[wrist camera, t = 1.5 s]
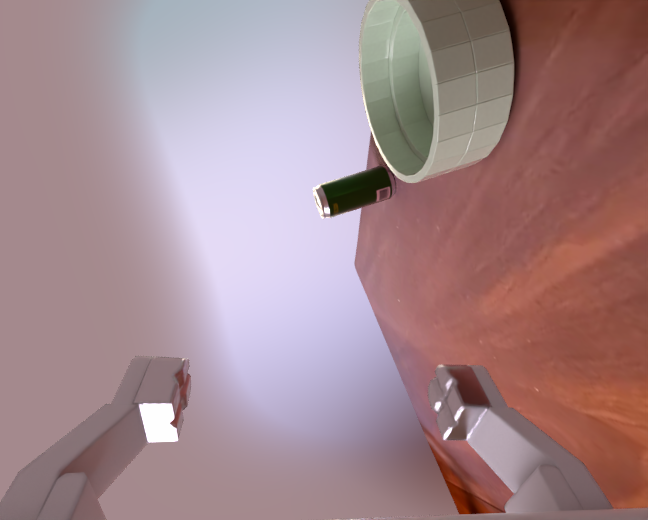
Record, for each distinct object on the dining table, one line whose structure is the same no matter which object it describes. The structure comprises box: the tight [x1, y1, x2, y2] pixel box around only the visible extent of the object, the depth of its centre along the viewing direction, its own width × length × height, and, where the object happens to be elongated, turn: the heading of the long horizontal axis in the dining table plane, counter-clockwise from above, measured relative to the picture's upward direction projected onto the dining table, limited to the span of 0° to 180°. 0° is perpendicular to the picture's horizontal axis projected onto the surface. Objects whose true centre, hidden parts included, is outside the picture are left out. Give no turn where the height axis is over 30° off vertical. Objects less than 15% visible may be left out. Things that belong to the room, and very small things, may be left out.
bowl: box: [359, 0, 514, 183], centre depth 31 cm, size 15×15×6 cm
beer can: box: [313, 166, 396, 218], centre depth 56 cm, size 5×5×12 cm
